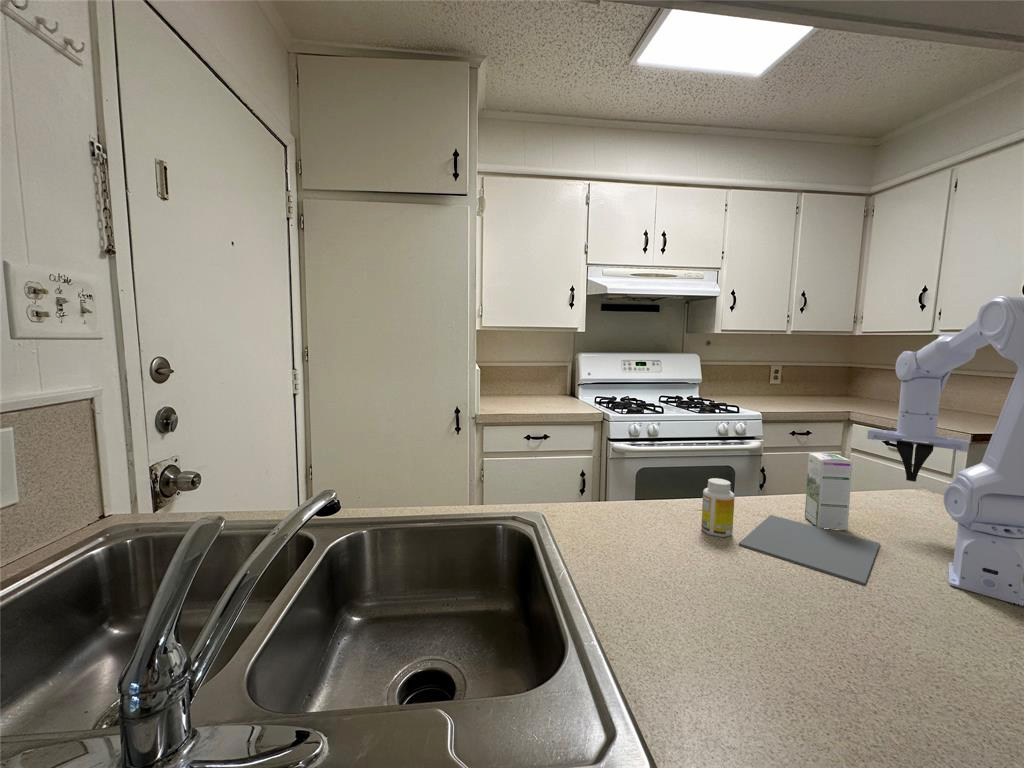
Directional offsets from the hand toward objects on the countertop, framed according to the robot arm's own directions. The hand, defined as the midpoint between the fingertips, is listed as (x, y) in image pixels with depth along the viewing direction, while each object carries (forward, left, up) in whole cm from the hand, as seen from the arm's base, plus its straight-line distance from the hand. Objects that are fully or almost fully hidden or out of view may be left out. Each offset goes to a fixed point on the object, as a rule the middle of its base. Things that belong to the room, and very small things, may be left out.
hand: (911, 480), depth 85 cm
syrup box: (-9, +12, -11) cm, 18 cm away
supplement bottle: (-30, +26, -11) cm, 41 cm away
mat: (-23, +12, -10) cm, 28 cm away
